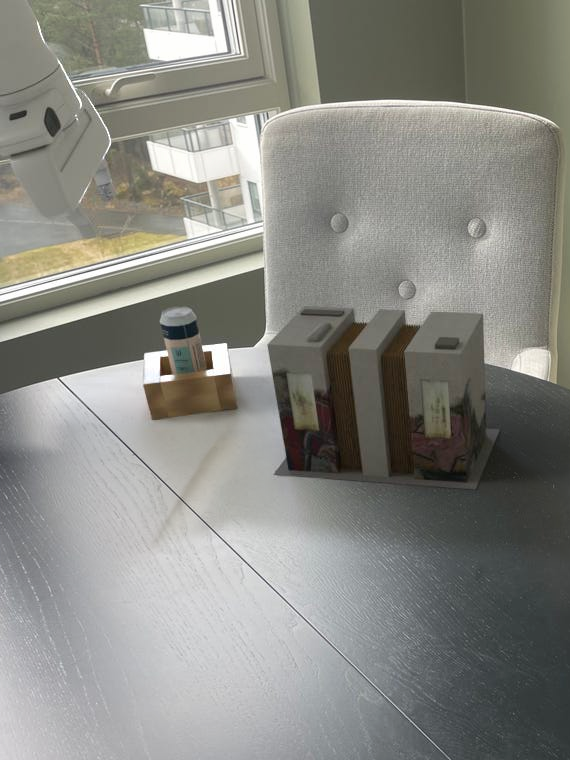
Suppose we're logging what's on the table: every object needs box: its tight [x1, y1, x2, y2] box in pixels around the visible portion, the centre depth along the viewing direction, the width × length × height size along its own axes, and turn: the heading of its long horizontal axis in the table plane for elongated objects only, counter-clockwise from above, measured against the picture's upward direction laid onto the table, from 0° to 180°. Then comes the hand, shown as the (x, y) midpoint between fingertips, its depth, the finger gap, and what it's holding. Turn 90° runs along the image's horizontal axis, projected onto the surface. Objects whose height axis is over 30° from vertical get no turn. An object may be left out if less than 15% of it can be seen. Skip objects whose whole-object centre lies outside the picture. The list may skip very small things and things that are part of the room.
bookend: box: [267, 305, 501, 491], centre depth 116 cm, size 16×25×16 cm, turn 79°
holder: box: [142, 342, 238, 420], centre depth 134 cm, size 11×11×5 cm
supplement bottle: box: [159, 306, 207, 375], centre depth 132 cm, size 5×5×12 cm
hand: (102, 216), depth 123 cm, fingers open, 8 cm apart
